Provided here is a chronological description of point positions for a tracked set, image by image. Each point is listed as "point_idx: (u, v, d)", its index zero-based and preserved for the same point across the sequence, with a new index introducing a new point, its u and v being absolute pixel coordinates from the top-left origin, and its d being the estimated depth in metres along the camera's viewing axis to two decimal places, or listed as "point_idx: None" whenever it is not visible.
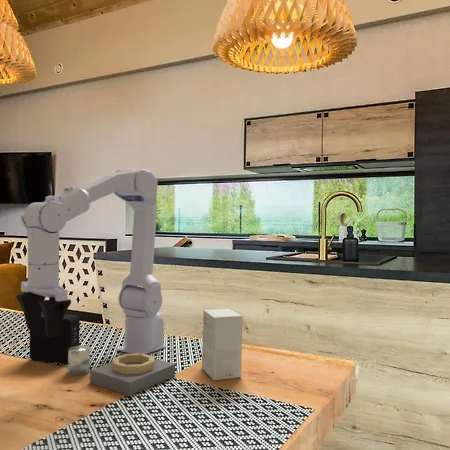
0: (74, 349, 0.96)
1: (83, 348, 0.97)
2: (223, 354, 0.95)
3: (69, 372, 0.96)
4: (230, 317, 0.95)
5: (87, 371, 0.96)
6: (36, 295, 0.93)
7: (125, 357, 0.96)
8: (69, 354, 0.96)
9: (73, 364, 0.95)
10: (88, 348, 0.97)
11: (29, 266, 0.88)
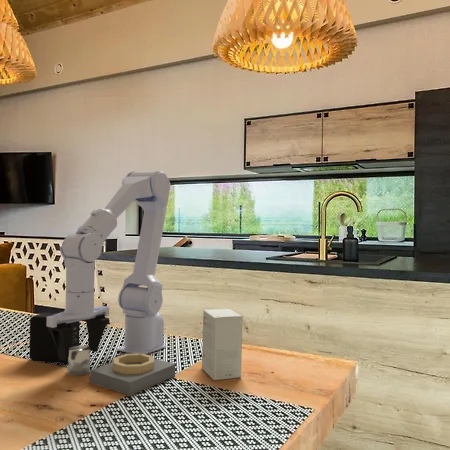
0: (74, 349, 0.96)
1: (83, 348, 0.97)
2: (223, 354, 0.95)
3: (69, 372, 0.96)
4: (230, 317, 0.95)
5: (87, 371, 0.96)
6: (95, 320, 1.00)
7: (125, 357, 0.96)
8: (69, 354, 0.96)
9: (73, 364, 0.95)
10: (88, 348, 0.97)
11: None
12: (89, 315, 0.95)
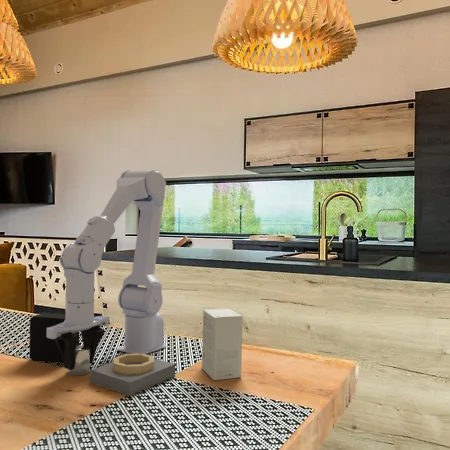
0: None
1: (83, 348, 0.97)
2: (223, 354, 0.95)
3: (69, 372, 0.96)
4: (230, 317, 0.95)
5: (87, 371, 0.96)
6: (90, 331, 0.99)
7: (125, 357, 0.96)
8: None
9: None
10: (88, 348, 0.97)
11: None
12: (89, 326, 0.95)
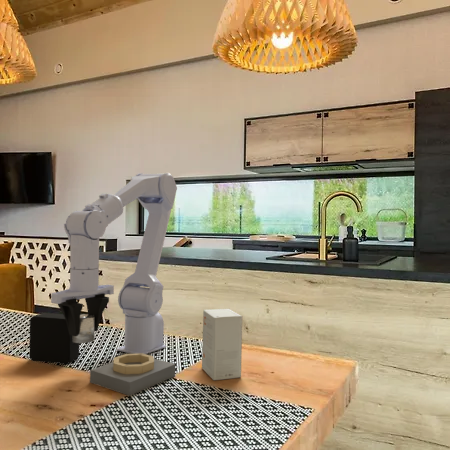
0: None
1: (87, 316, 0.97)
2: (223, 354, 0.95)
3: (74, 339, 0.95)
4: (230, 317, 0.95)
5: (92, 339, 0.96)
6: (94, 299, 0.98)
7: (125, 357, 0.96)
8: None
9: None
10: (93, 316, 0.97)
11: None
12: (94, 292, 0.95)
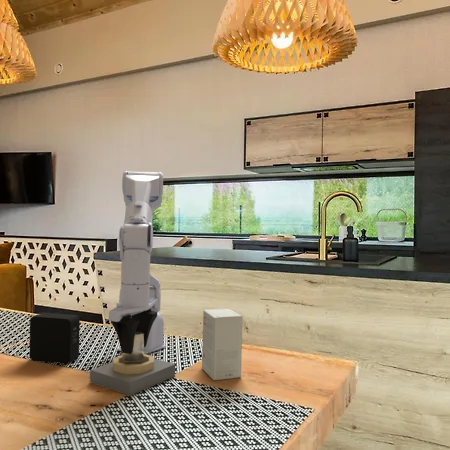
0: None
1: (136, 332, 0.94)
2: (223, 354, 0.95)
3: (125, 358, 0.92)
4: (230, 317, 0.95)
5: (143, 355, 0.94)
6: (143, 314, 0.96)
7: None
8: None
9: None
10: (141, 332, 0.95)
11: None
12: (147, 307, 0.92)
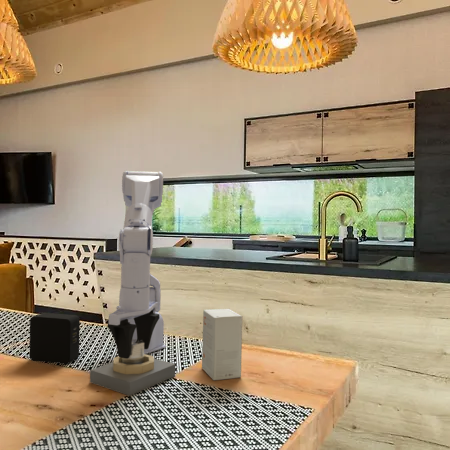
0: None
1: (137, 341, 0.94)
2: (223, 354, 0.95)
3: None
4: (230, 317, 0.95)
5: None
6: (145, 317, 0.96)
7: None
8: None
9: (131, 358, 0.92)
10: (142, 341, 0.95)
11: None
12: (147, 311, 0.92)
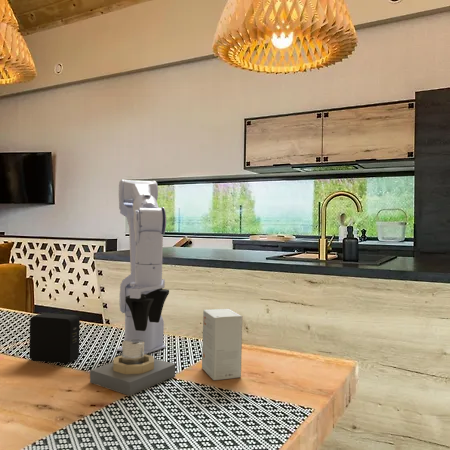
0: (129, 343, 0.93)
1: (137, 341, 0.94)
2: (223, 354, 0.95)
3: None
4: (230, 317, 0.95)
5: None
6: (156, 292, 1.03)
7: None
8: (125, 348, 0.92)
9: (131, 357, 0.92)
10: (142, 341, 0.95)
11: None
12: (161, 286, 0.99)
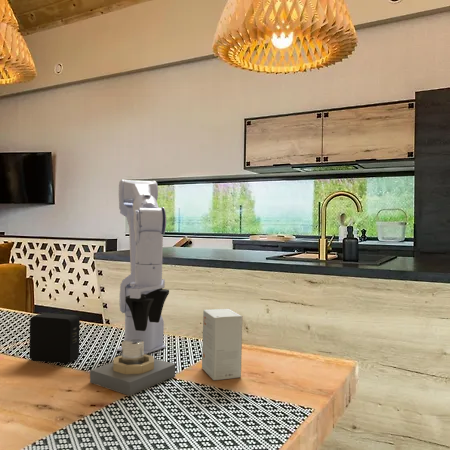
0: (128, 343, 0.93)
1: (136, 341, 0.94)
2: (223, 354, 0.95)
3: None
4: (230, 317, 0.95)
5: None
6: (156, 292, 1.03)
7: None
8: (124, 348, 0.92)
9: (130, 357, 0.92)
10: (141, 341, 0.95)
11: None
12: (161, 286, 0.99)
